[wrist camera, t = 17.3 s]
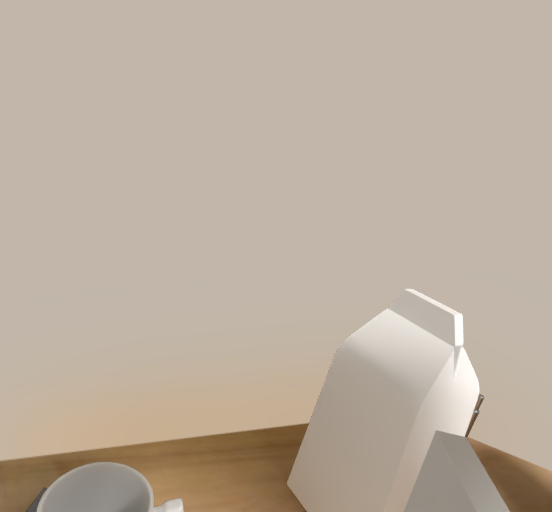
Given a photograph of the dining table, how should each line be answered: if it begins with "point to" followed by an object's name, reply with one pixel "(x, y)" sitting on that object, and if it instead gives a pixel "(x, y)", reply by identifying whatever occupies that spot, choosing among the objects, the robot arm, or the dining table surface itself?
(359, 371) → the milk
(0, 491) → the dining table surface
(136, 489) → the mug
